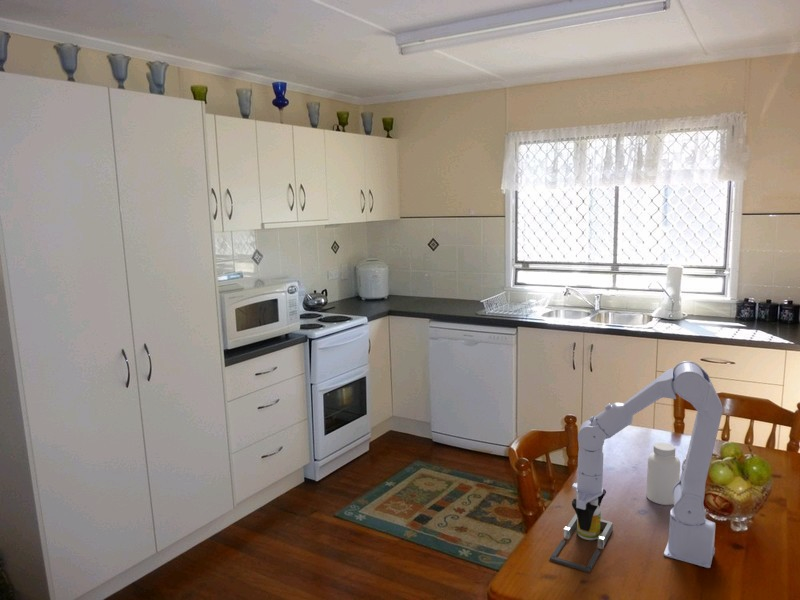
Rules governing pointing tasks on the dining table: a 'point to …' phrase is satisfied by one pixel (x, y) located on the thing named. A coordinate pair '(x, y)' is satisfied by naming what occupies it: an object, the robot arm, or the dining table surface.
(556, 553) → the rubber frame
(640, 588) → the dining table surface
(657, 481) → the pill bottle
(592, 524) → the supplement bottle
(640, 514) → the dining table surface
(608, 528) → the dispenser cradle
